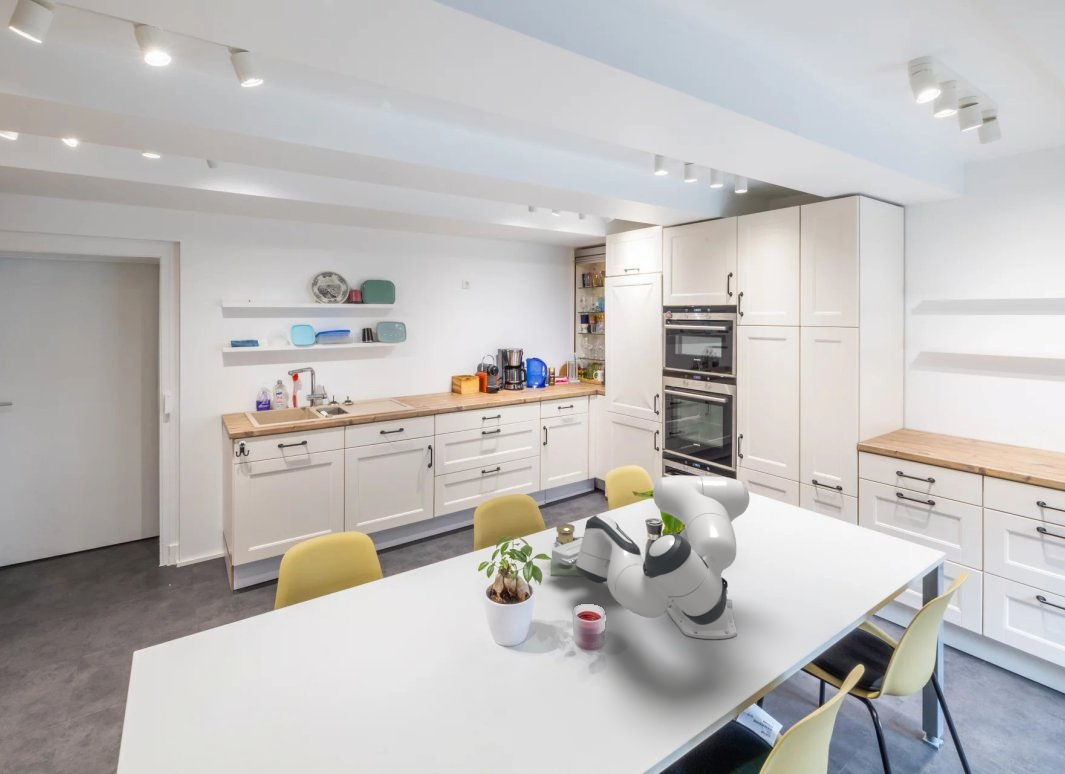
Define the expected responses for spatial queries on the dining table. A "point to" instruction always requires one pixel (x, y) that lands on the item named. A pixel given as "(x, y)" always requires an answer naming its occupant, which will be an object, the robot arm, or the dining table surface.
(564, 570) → the mat
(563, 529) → the olive metal cylinder
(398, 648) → the dining table surface
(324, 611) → the dining table surface
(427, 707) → the dining table surface
